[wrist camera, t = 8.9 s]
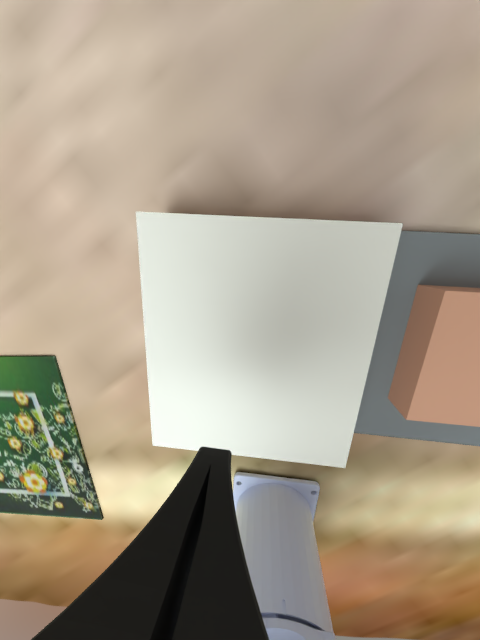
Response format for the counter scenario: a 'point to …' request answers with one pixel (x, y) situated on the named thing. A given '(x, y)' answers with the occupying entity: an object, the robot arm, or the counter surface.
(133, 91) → the counter surface
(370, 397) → the mat
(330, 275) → the white platform
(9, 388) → the decorative card
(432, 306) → the tile
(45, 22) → the counter surface
